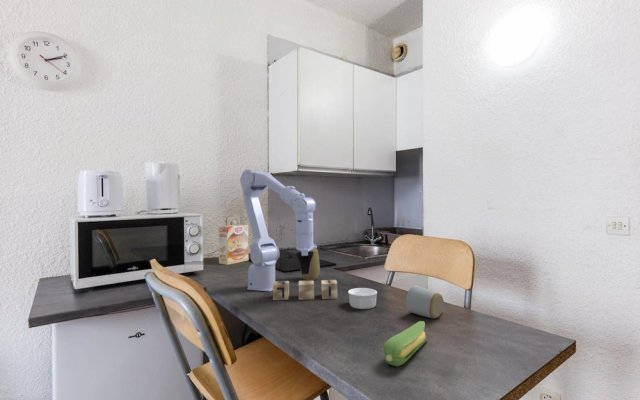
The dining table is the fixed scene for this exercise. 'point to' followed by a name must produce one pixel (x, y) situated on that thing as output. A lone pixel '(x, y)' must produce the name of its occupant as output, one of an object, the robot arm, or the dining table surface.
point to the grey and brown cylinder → (424, 302)
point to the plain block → (306, 290)
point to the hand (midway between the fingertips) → (305, 273)
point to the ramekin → (362, 298)
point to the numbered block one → (329, 289)
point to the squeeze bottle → (313, 267)
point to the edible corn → (404, 344)
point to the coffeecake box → (233, 244)
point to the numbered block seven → (281, 290)
